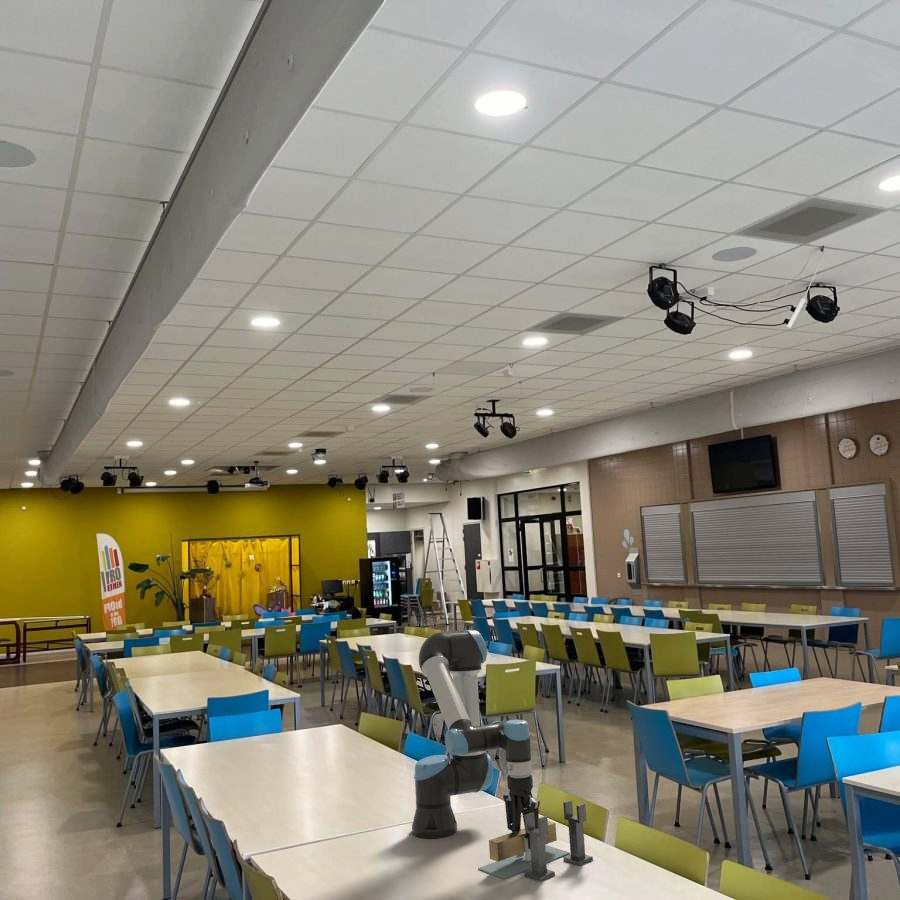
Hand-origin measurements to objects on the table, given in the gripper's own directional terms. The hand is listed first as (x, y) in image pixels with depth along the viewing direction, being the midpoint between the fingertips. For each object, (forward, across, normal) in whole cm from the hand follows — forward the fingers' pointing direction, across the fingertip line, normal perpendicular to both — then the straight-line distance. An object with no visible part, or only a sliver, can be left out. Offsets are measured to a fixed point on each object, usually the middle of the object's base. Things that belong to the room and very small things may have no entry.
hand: (524, 858), depth 240 cm
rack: (+1, +11, +3) cm, 11 cm away
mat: (+1, 0, 0) cm, 1 cm away
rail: (-2, 0, 0) cm, 2 cm away
